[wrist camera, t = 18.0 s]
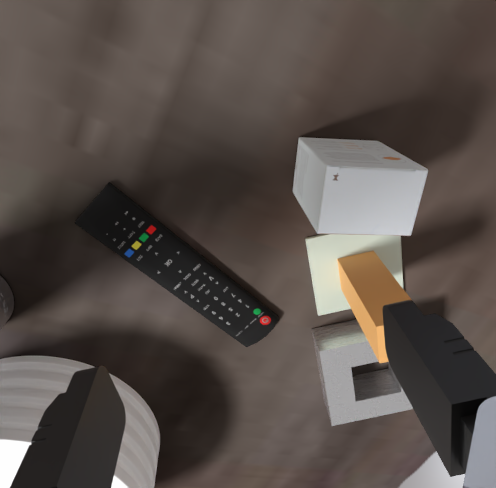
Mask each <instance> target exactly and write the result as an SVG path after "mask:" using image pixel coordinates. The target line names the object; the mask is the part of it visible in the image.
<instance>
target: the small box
mask: <svg viewBox="0 0 496 488" xmlns="http://www.w3.org/2000/svg"><path fill="white" fill-rule="evenodd" d="M427 174H428V169H427V168H425V167H423V166H421V165H420V164H418V163H416V162H414V161H413V160H411V159H409V158H407V157H406V156H404V155H402V154H400V153H398V152H397V151H395V150H393V149H391V148H390V147H388V146H386V145H384V144H383V143H381V142H379V141H370V140H349V139H328V138H306V137H299V140H298V149H297V157H296V166H295V174H294V183H293V193H294V195H295V197H296V198H297V200H298V202H299V204H300V205H301V207H302V209H303V211H304V212H305V214H306V216H307V217H308V219H309V221H310V223H311V224H312V226H313V227H314V229H315V231H316V232H317V234H348V235H394V236H411V234H412V230H413V226H414V222H415V219H416V215H417V211H418V207H419V204H420V200H421V196H422V193H423V189H424V185H425V181H426V178H427Z"/></svg>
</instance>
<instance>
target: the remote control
mask: <svg viewBox="0 0 496 488" xmlns="http://www.w3.org/2000/svg"><path fill="white" fill-rule="evenodd" d="M75 224H77V225H78V226H79V227H81V228H82V229H84V230H85V231H86V232H88V233H89V234H91V235H92V236H93V237H95V238H96V239H97V240H99V241H100V242H102V243H103V244H104V245H106V246H107V247H109V248H110V249H111V250H113V251H114V252H115V253H117V254H118V255H120V256H121V257H122V258H124V259H125V260H127V261H128V262H129V263H131V264H132V265H133V266H135V267H136V268H138V269H139V270H140V271H142V272H143V273H145V274H146V275H147V276H149V277H150V278H151V279H153V280H154V281H156V282H157V283H158V284H160V285H161V286H162V287H164V288H165V289H167V290H168V291H169V292H171V293H172V294H174V295H175V296H176V297H178V298H179V299H180V300H182V301H183V302H185V303H186V304H187V305H189V306H190V307H192V308H193V309H194V310H196V311H197V312H198V313H200V314H201V315H203V316H204V317H205V318H207V319H208V320H210V321H211V322H212V323H214V324H215V325H216V326H218V327H219V328H221V329H222V330H223V331H225V332H226V333H228V334H229V335H230V336H232V337H233V338H234V339H236V340H237V341H239V342H240V343H241V344H243V345H244V346H246V347H248V346H250V345H252V344H255V343H257V342H258V341H260V340H261V339H263V338H264V337H266V336H267V335H268V333H269V332H270V331H271V330H272V329H273V328H274V327H275V325H276V323H277V322H278V320H279V318H278V315H276V314H275V313H274V312H273V311H271V310H270V309H269V308H267V307H266V306H265V305H264V304H262V303H261V302H260V301H259V300H257V299H256V298H255V297H254V296H252V295H251V294H250V293H248V292H247V291H246V290H245V289H243V288H242V287H241V286H240V285H238V284H237V283H236V282H235V281H233V280H232V279H231V278H229V277H228V276H227V275H226V274H224V273H223V272H222V271H221V270H219V269H218V268H217V267H216V266H214V265H213V264H212V263H210V262H209V261H208V260H207V259H205V258H204V257H203V256H202V255H200V254H199V253H198V252H197V251H195V250H194V249H193V248H191V247H190V246H189V245H188V244H186V243H185V242H184V241H183V240H181V239H180V238H179V237H178V236H176V235H175V234H174V233H172V232H171V231H170V230H169V229H167V228H166V227H165V226H164V225H162V224H161V223H160V222H159V221H157V220H156V219H155V218H153V217H152V216H151V215H150V214H148V213H147V212H146V211H145V210H143V209H142V208H141V207H140V206H138V205H137V204H136V203H134V202H133V201H132V200H131V199H129V198H128V197H127V196H126V195H124V194H123V193H122V192H121V191H119V190H118V189H117V188H115V187H114V186H113V185H112V184H110V183H108V184H107V185H106V186H105V188H104V189H103V190H102V191H101V192H100V193H99V195H98V196H97V197H96V198H95V199H94V200H93V202H92V203H91V204H90V205H89V206H88V207H87V209H86V210H85V211H84V212H83V213H82V214H81V216H80V217H79V218H78V219H77V220H76V222H75Z"/></svg>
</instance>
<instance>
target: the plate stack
mask: <svg viewBox="0 0 496 488" xmlns="http://www.w3.org/2000/svg"><path fill="white" fill-rule="evenodd" d="M89 368H94V366H91V365H88V364H85V363H82V362H79V361H75V360H70V359H65V358H59V357H51V356H16V357H9V358H3V359H0V488H10V486H11V484H12V482H13V480H14V477H15V475H16V473H17V471H18V469H19V467H20V464H21V462H22V460H23V458H24V456H25V453H26V451H27V449H28V447H29V445H31V440H32V438H33V436H34V434H35V431H37V430H38V428H37V427H38V425H39V423H40V420H41V418H42V416H43V414H44V412H45V410H46V409H47V407H48V406H49V405H50V404H51V403H52V402H53V400H54V399H55V398H56V397H57V396H58V395H59V394H61V393H65V392H66V390H67V388H68V386H69V383H70V381H71V379H72V376H73V374H74V373H75V372H76V371H80V370H85V369H89ZM109 375H110V377H111V379H112V381H113V383H114V385H115V387H116V389H117V391H118V393H119V395H120V398H121V400H122V402H123V404H124V408H125V414H126V424H125V429H124V434H123V438H122V442H121V447H120V451H119V455H118V460H117V464H116V469H115V473H114V477H113V482H112V486H111V488H154V486H155V476H156V471H157V463H158V455H159V448H160V432H159V427H158V424H157V421H156V418H155V416H154V414H153V412H152V411H151V409H150V407H149V406H148V405H147V403H146V402H145V401H144V399H143V398H142V397H141V396H140V395H139V394H138V393H137V392H136V391H135V390H134V389H132V388H131V387H130V386H129V385H127V384H126V383H125V382H123V381H122V380H120V379H118V378H117V377H115V376H113V375H112V374H110V373H109Z"/></svg>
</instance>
